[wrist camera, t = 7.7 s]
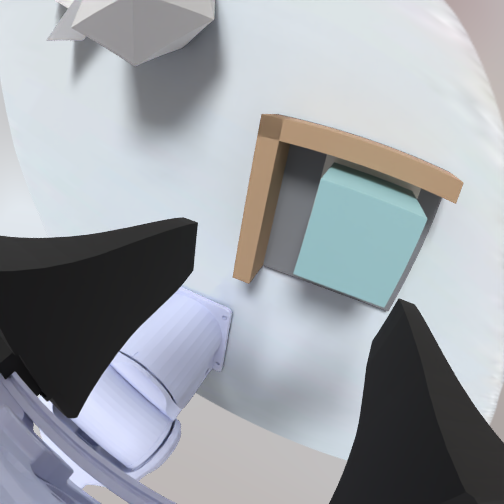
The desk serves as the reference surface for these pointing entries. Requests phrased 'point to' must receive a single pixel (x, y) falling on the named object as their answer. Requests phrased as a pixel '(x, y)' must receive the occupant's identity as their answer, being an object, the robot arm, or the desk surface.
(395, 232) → the cube
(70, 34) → the file organizer
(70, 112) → the desk surface
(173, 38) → the die
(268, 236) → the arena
